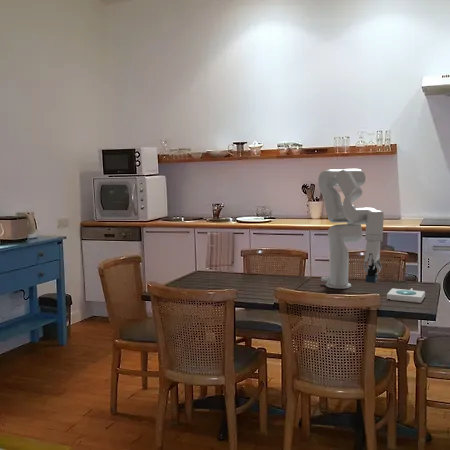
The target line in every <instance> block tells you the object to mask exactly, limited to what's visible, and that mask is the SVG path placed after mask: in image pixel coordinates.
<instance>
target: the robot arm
mask: <svg viewBox="0 0 450 450" xmlns="http://www.w3.org/2000/svg"><path fill="white" fill-rule="evenodd" d="M317 182H318V188H319V190H320V193H321V196H322V198H323V202H324V206H325V213H326V217H327V219H328V222H330V223H333V224H334V225H331V226H330V227H329V228H328V230H327V237H328V246H329V260H328V261H329V263H328V264H329V269H328V270H329V272H328V275H329V276H327V277H325V276H321V278H320V280H321V281H322V282H326V283H325V286H326V287H327V288H330V289H341V290H342V289H343V290H344V289H350V288H351V287H352V284H351V283H349V263H350V262H349V260H350V259H349V248H347V246H346V244H349V243H350V244H354V243H359V242H361V240H362V238H363V228H362V225H365V238H364V239H365V241H366V243H365V244H366V245H365V254H364V256H365V257H364V262H366V263H368V264H367V269H368V273H367V274H368V275H369V276H370V277H372V276H375V274H376V273H378V268H377V267H376V265H375V263H376V262H377V261H378V260H379V261H380V257H381V255H380V254H381V242H383V237H384V235H383V234H384V233H383V232H384V218H385V217H384V216H385V215H384V211H382V210H380V209H378V210H377V209H376V208H374V207H356V206H355V205H354V204H353V202H355V201H357V200H359V199H360V198H361V196H362V195H363V189H362V187H361V186H363V185H364V184H365V182H366V175H365V172H364V171H363V170H362V169H360V168H344V169H342V168H341V169H339V168H338V169H335V168H334V169H326V170H325V169H324V170H322V171H321V172H320V173H319V174H318V179H317ZM334 187H339V188H340V190H341V192H342V194H343V197H344V199H343V201H342V197H341V195H340V193H339V192H338V190H337V189H336V188H334ZM341 223H342V224H341Z"/></svg>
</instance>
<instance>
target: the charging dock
mask: <svg viewBox="0 0 450 450" xmlns="http://www.w3.org/2000/svg"><path fill="white" fill-rule="evenodd" d="M425 297H426V291H424V290H415V289H414V288H410V289H402V288H401V289H400V288H391V289H390V290H389V291H388V292H387V293H386V300H388V299H390V301H391V300H392V301H398V302H399V301H400V302H402V301H403V302H409V303H420V304H421V303H422V302H423V300H424V298H425Z"/></svg>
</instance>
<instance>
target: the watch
mask: <svg viewBox="0 0 450 450" xmlns="http://www.w3.org/2000/svg"><path fill="white" fill-rule="evenodd" d="M375 265H376V267H377V273H376V274H375V276H372V277H370V276H369V275H368V265H367V262H365V261H364V262H363V268H364V271H365V272H366V275H365V282H366V283H371V284H372V283H373V284H376V283H377V282H378V281H379V274H380V272H381V270H382V268H383V266H382V263H381V261H380V259H379V260H378V261H377V262H376V263H375Z"/></svg>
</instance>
